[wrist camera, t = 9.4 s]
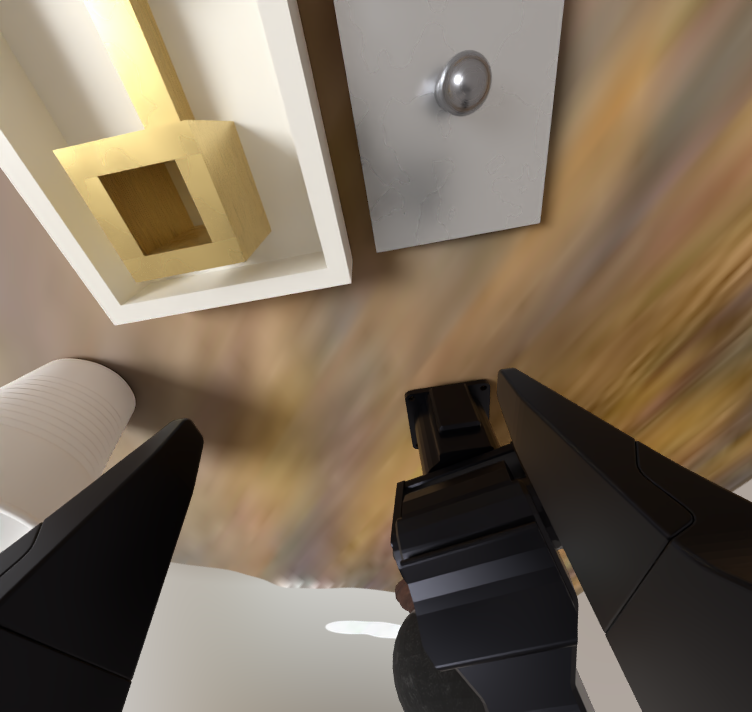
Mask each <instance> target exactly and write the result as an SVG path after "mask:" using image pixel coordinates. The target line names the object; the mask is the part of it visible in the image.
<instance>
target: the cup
mask: <svg viewBox="0 0 752 712" xmlns="http://www.w3.org/2000/svg"><path fill="white" fill-rule="evenodd" d="M135 406H136V403H135V397H134V394H133V392H132V390H131V388H130V387H129V385H128V384H127V383H126V382H125V380H124V379H123V378H122V377H120V376H119V375H118V374H117V373H115V372H114V371H112V370H111V369H109V368H107V367H105V366H103V365H100V364H97V363H95V362H91V361H87V360H81V359H73V358H66V359H58V360H54V361H52V362H50V363H48V364H46V365H44V366H42V367H40V368H38V369H36V370H34V371H32V372H30V373H28V374H26V375H24V376H22V377H20V378H19V379H17V380H15V381H13V382H11V383H9V384H7V385H5V386H3V387H1V388H0V553H1V552H2V551H4V550H5V549H6V548H8V547H9V546H10V545H12V544H13V543H14V542H16V541H17V540H18V539H20V538H21V537H22V536H24V535H25V534H26V533H27V532H29V531H30V530H31V529H33V528H34V527H35V526H37V525H38V524H39V523H41V522H43V521H44V520H45V519H46V518H47V517H48V516H50V515H51V514H52V513H54V512H55V511H56V510H57V509H59V508H60V507H61V506H63V505H64V504H65V503H67V502H68V501H69V500H70V499H72V498H73V497H74V496H76V495H77V494H78V493H80V492H81V491H82V490H83V489H85V488H86V487H87V486H89V485H90V484H91V483H93V482H94V481H95V480H96V479H98V478H99V477H100V476H101V474H102V472H103V470H104V468H105V467H106V463H107V462H108V461H109V458H110V456H111V455H112V452H113V450H114V449H115V446H116V444H117V443H118V440H119V438H120V437H121V434H122V432H123V431H124V429H125V427H126V425H127V424H128V422H129V420H130V418H131V416H132V414H133V412H134V409H135Z"/></svg>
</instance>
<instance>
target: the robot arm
mask: <svg viewBox="0 0 752 712" xmlns="http://www.w3.org/2000/svg"><path fill="white" fill-rule="evenodd" d="M481 386H484V387H481ZM411 396H412V397H413V398H409V397H411ZM497 397H498V401H499V404H500V407H501V410H502V413H503V415H504V418H505V421H506V424H507V427H508V430H509V433H510V436H511V439H512V441H511V443H510V444H507V445H505V446H502V447H500V445H499V443H498V441H497V438H496V436H495V434H494V431H493V429H492V427H491V424H490V422H489V405H490V385H489V383H488V381H487V380H477V381H471V382H464V383H458V384H451V385H444V386H438V387H431V388H425V389H418V390H412V391H408V392H407V393H406V394H405V401H406V407H407V413H408V419H409V426H410V432H411V438H412V444H413V447H414V448H415V449H419V454H420V460H421V465H422V471H423V475H422V476H419V477H417V478H414V479H411V480H408V481H405V480H404V481H401V482H399V483H397V488H396V496H395V505H394V514H393V522H392V532H391V546H392V548H393V557H394V559H395V560H396V562H397V565H398V568H399V571H400V573H401V575H402V577H403V579H404V580H405V582H406V583H407V584H408V587H409V590H410V593H411V597H412V600H413V603H414V608H415V612H416V616H417V621H418V626H419V631H420V636H421V641H422V645H423V648H424V650H425V651H426V653H427V655H428V656H429V658H430V659H431V661H432V663H433V664H434V666H435V667H436V669H437V670H439V671H446V670H451V669H456V671H457V672H458V673H459V674H460V675H461V677H462V678H463V679H464V680H465V681H466V682H467V684H468V685H469V686H470V687H471V688H472V689H473V691H474V692H475V693H476V694H477V695H478V697H479V698H480V699H481V701H482V703H483V706H484V708H485V711H486V712H595V711H594V708H593V706H592V704H591V701H590V699H589V697H588V694H587V692H586V690H585V687H584V685H583V683H582V680H581V678H580V676H579V673H578V671H577V669H576V654H577V642H578V637H577V636H578V633H577V632H578V631H577V630H578V629H577V627H578V599H577V595H576V592H575V590H574V587H573V584H572V581H571V578H570V575H569V573H568V571H567V569H566V566H565V564H564V562H563V560H562V558H561V556H560V554H559V551H558V550H559V549H562V548H563V549H564V551H565V553H566V555H567V557H568V559H569V561H570V563H571V565H572V567H573V569H574V571H575V573H576V575H577V577H578V580H579V582H580V584H581V586H582V588H583V590H584V592H585V594H586V596H587V598H588V600H589V602H590V604H591V606H592V608H593V610H594V612H595V614H596V617H597V618H598V621H599V623H600V625H601V627H602V629H603V631H604V632H605V633H606V634H605V635H606V637H607V640H608V642H609V644H610V646H611V648H612V650H613V652H614V654H615V656H616V658H617V660H618V662H619V664H620V666H621V669H622V671H623V672H624V675H625V677H626V679H627V681H628V683H629V685H630V687H631V689H632V691H633V693H634V695H635V697H636V700H637V702H638V703H639V706H640V708H641V709H642V712H752V502H750V501H748V500H746V499H744V498H743V497H741V496H739V495H737V494H735V493H733V492H731V491H729V490H727V489H725V488H723V487H721V486H719V485H717V484H715V483H713V482H711V481H709V480H707V479H705V478H704V477H702V476H700V475H698V474H696V473H694V472H692V471H690V470H688V469H686V468H685V467H683V466H681V465H679V464H677V463H675V462H674V461H672V460H670V459H668V458H667V457H665V456H663V455H661V454H660V453H658V452H656V451H654V450H653V449H651V448H649V447H648V446H646V445H644V444H643V443H641V442H639V441H636V442H635V439H634V438H632V437H631V436H629V435H627V434H625V433H624V432H622V431H620V430H619V429H617V428H615V427H614V426H612V425H610V424H609V423H607V422H605V421H604V420H602V419H600V418H598V417H597V416H595V415H593V414H592V413H590V412H588V411H587V410H585V409H583V408H582V407H580V406H578V405H577V404H575V403H573V402H571V401H570V400H568V399H566V398H565V397H563V396H561V395H560V394H558V393H556V392H555V391H553V390H551V389H550V388H548V387H546V386H544V385H543V384H541V383H539V382H538V381H536V380H534V379H533V378H531V377H529V376H528V375H526V374H524V373H523V372H521V371H519V370H517V369H516V368H507V369H501V370H500V371H499V372H498V381H497ZM203 444H204V440H203V436H202V435H201V433H200V432H199V430H198V429H197V428H196V426H195V425H194V423H193V422H192V421H191V420H190V419H188V418H184V419H177V420H174V421H172V422H171V423H169V424H168V425H167V426H165V427H164V428H163V429H162V430H160V431H159V432H158V433H156V434H155V435H154V436H152V437H151V438H150V439H148V440H147V441H146V442H145V443H143V444H142V445H141V446H139V447H138V448H137V449H135V450H134V451H133V452H132V453H130V454H129V455H128V456H126V457H125V458H124V459H122V460H121V461H120V462H119V463H117V464H116V465H115V466H113V467H112V468H111V469H109V470H108V471H107V472H106V473H104V474H103V475H102V476H100V477H99V478H98V479H96V480H95V481H94V482H93V483H91V484H90V485H89V486H87V487H86V488H85V489H83V490H82V491H81V492H80V493H78V494H77V495H76V496H74V497H73V498H72V499H70V500H69V501H68V502H67V503H65V504H64V505H63V506H61V507H60V508H59V509H57V510H56V511H55V512H54V513H52V514H51V515H50V516H48V517H47V518H46V519H45V520H44V521H43V522H41V523H39V524H38V525H37V526H35V527H34V528H33V529H31V530H30V531H29V532H27V533H26V534H25V535H24V536H22V537H21V538H20V539H18V540H17V541H16V542H14V543H13V544H12V545H10V546H9V547H8V548H6V549H5V550H4V551H2V552H1V553H0V712H122V710H123V707H124V704H125V701H126V697H127V694H128V691H129V688H130V685H131V680H132V678H133V675H134V672H135V669H136V666H137V663H138V660H139V657H140V654H141V651H142V648H143V645H144V641H145V639H146V635H147V632H148V629H149V626H150V623H151V620H152V617H153V614H154V611H155V608H156V605H157V602H158V598H159V596H160V593H161V589H162V586H163V583H164V580H165V577H166V574H167V571H168V568H169V565H170V562H171V559H172V556H173V553H174V550H175V547H176V544H177V540H178V537H179V534H180V531H181V528H182V525H183V522H184V519H185V516H186V513H187V510H188V507H189V504H190V501H191V497H192V494H193V490H194V486H195V482H196V477H197V472H198V468H199V463H200V459H201V454H202V449H203Z"/></svg>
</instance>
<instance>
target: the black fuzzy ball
mask: <svg viewBox="0 0 752 712" xmlns="http://www.w3.org/2000/svg"><path fill="white" fill-rule="evenodd" d="M395 594H396V599H397V601H398V602H399V603H400V605H401V606H402V608H404V609H405V610H407V611H409V613H410V614H409V615H408V616H407V618H406V619H405V621H404V622H403V624H402V626H401V627H400V630H399V632H398V635H397V638H396V641H395V646H394V652H393V674H394V682H395V687H396V690H397V694H398V698H399V701H400V703H401V705H402V707H403V710H404V712H486V711H485V708H484V706H483V703H482V701H481V699H480V698H479V697H478V695H477V694H476V693H475V692H474V691H473V689H472V688H471V687H470V686H469V685H468V684H467V682H466V681H465V680H464V679H463V678H462V677H461V675H460V674H459V673H458V672H457V671H456V669H451V670H446V671H439V670H437V669H436V667H435V666H434V664H433V663H432V661H431V659H430V658H429V656H428V655H427V653H426V651H425V650H424V648H423V645H422V641H421V636H420V631H419V626H418V621H417V616H416V612H415V608H414V603H413V600H412V597H411V593H410V590H409V587H408V584H407V583H406V582H405V580H404V579H403V580H402V581H400V582H399V583H398V584H397V585H396V588H395Z"/></svg>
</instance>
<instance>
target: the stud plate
mask: <svg viewBox="0 0 752 712" xmlns="http://www.w3.org/2000/svg"><path fill="white" fill-rule="evenodd" d="M334 6H335V12H336V18H337V24H338V30H339V35H340V41H341V47H342V53H343V59H344V65H345V70H346V76H347V82H348V88H349V94H350V100H351V105H352V111H353V117H354V123H355V129H356V135H357V140H358V146H359V152H360V158H361V164H362V170H363V175H364V181H365V187H366V193H367V199H368V205H369V211H370V216H371V222H372V228H373V234H374V240H375V246H376V251H377V253H379V252H384V251H390V250H395V249H401V248H406V247H412V246H417V245H423V244H428V243H434V242H439V241H444V240H450V239H455V238H461V237H466V236H472V235H477V234H483V233H488V232H494V231H499V230H505V229H510V228H515V227H521V226H526V225H532V224H537V223H540V219H541V210H542V200H543V191H544V182H545V173H546V164H547V154H548V145H549V136H550V127H551V118H552V109H553V99H554V90H555V81H556V72H557V63H558V53H559V44H560V35H561V26H562V17H563V8H564V0H334Z"/></svg>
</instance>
